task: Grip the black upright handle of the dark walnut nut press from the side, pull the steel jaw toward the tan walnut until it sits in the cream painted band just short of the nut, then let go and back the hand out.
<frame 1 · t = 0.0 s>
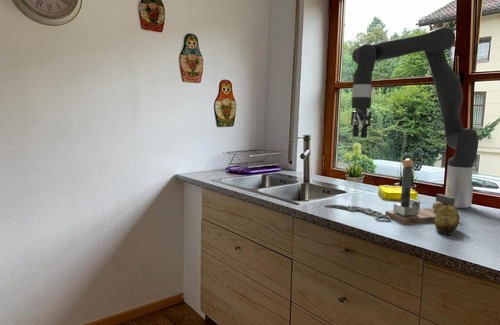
hand: (359, 136, 147), 29 cm above the worktop, tool pointing down, fingers open, 8 cm apart
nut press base: (415, 218, 135), on the worktop
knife: (359, 214, 143), on the worktop
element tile: (396, 198, 171), on the worktop
potato: (445, 231, 122), on the worktop
walnut: (437, 216, 138), resting on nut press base
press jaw: (407, 186, 132), point 13 cm above the worktop, slide at 0.0 cm
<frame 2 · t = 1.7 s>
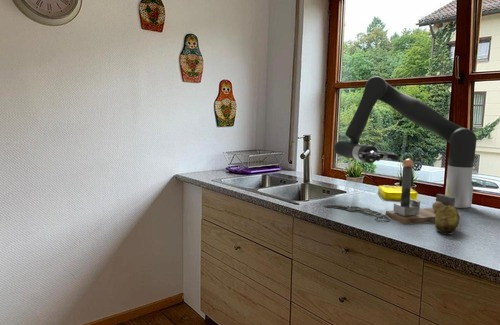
hand: (388, 158, 141), 22 cm above the worktop, tool horizontal, fingers open, 8 cm apart
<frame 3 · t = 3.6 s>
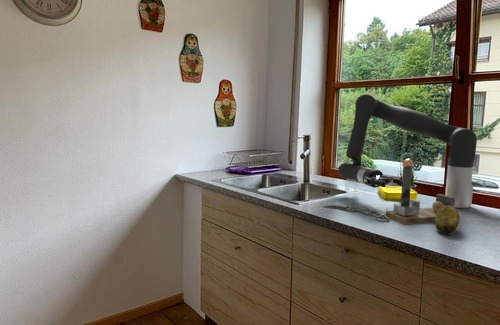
hand: (394, 184, 138), 12 cm above the worktop, tool horizontal, fingers open, 8 cm apart
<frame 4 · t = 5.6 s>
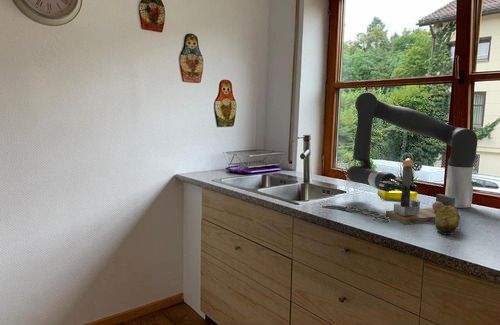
hand: (411, 189, 129), 12 cm above the worktop, tool horizontal, fingers closed on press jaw, 3 cm apart
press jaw: (407, 186, 132), point 13 cm above the worktop, slide at 0.0 cm, touching gripper
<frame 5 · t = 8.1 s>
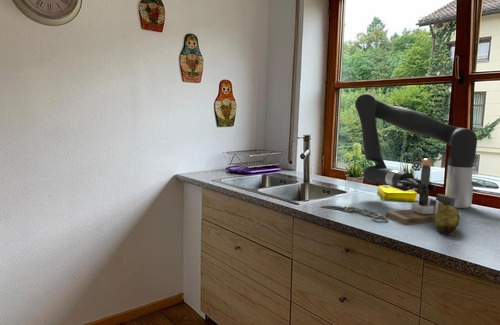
hand: (430, 188, 132), 12 cm above the worktop, tool horizontal, fingers closed on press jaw, 3 cm apart
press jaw: (425, 185, 134), point 13 cm above the worktop, slide at 8.0 cm, touching gripper
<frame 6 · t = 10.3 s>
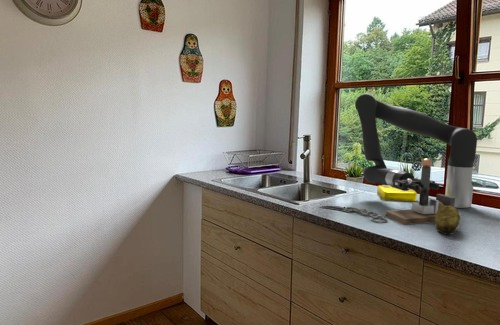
hand: (428, 187, 133), 12 cm above the worktop, tool horizontal, fingers open, 8 cm apart
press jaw: (426, 185, 134), point 13 cm above the worktop, slide at 8.1 cm
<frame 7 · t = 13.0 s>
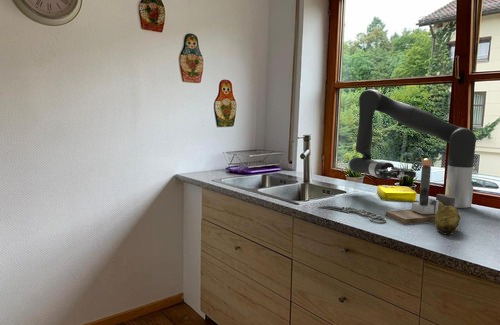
hand: (406, 175, 144), 14 cm above the worktop, tool horizontal, fingers open, 8 cm apart
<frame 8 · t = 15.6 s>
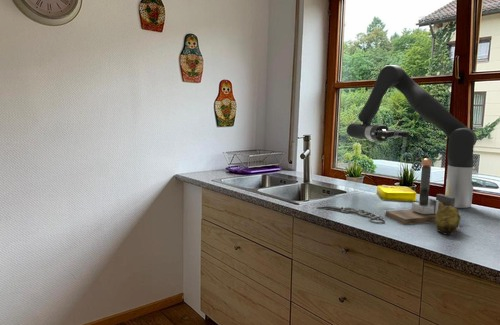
hand: (399, 134, 153), 30 cm above the worktop, tool horizontal, fingers open, 8 cm apart
at the end: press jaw slide at 8.1 cm; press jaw touching nothing; the gripper is holding nothing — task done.
